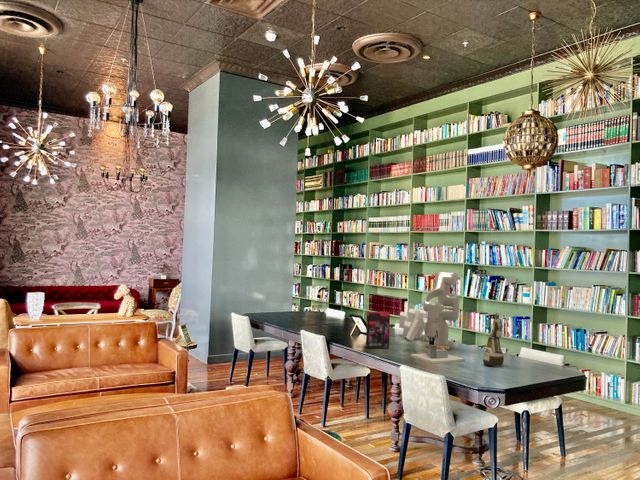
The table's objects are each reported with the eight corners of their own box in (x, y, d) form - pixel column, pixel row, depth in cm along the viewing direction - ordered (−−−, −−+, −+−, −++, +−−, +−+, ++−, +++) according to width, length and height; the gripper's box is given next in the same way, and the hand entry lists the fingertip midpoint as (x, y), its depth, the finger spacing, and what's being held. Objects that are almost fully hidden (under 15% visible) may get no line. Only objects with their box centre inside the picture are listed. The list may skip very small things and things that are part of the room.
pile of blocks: (387, 341, 441) (386, 308, 425) (410, 326, 457) (410, 294, 442) (418, 359, 416) (418, 325, 400) (441, 343, 432) (442, 309, 417)
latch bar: (447, 347, 355) (447, 343, 356) (449, 348, 352) (449, 344, 352) (423, 347, 353) (423, 343, 353) (425, 348, 350) (425, 344, 350)
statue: (495, 362, 345) (497, 311, 345) (508, 366, 335) (510, 313, 336) (477, 364, 337) (479, 312, 338) (490, 368, 327) (492, 314, 328)
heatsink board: (441, 354, 367) (441, 340, 367) (464, 361, 346) (465, 346, 346) (410, 356, 354) (410, 342, 354) (432, 363, 333) (433, 348, 333)
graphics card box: (367, 348, 375) (369, 312, 376) (364, 346, 382) (366, 311, 383) (389, 348, 379) (390, 312, 379) (386, 347, 386) (387, 311, 386)
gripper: (421, 319, 361) (420, 344, 360) (435, 322, 347) (434, 348, 347) (430, 318, 364) (429, 344, 364) (443, 321, 351) (442, 348, 350)
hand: (431, 346), depth 355 cm, fingers closed
